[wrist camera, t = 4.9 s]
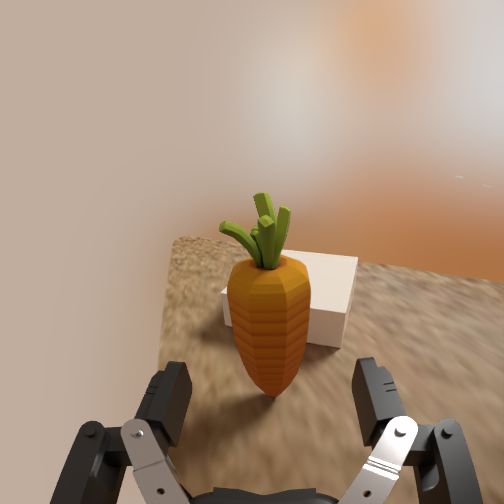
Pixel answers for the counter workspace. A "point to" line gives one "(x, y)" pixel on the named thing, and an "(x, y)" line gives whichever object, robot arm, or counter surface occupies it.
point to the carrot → (268, 300)
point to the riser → (323, 295)
